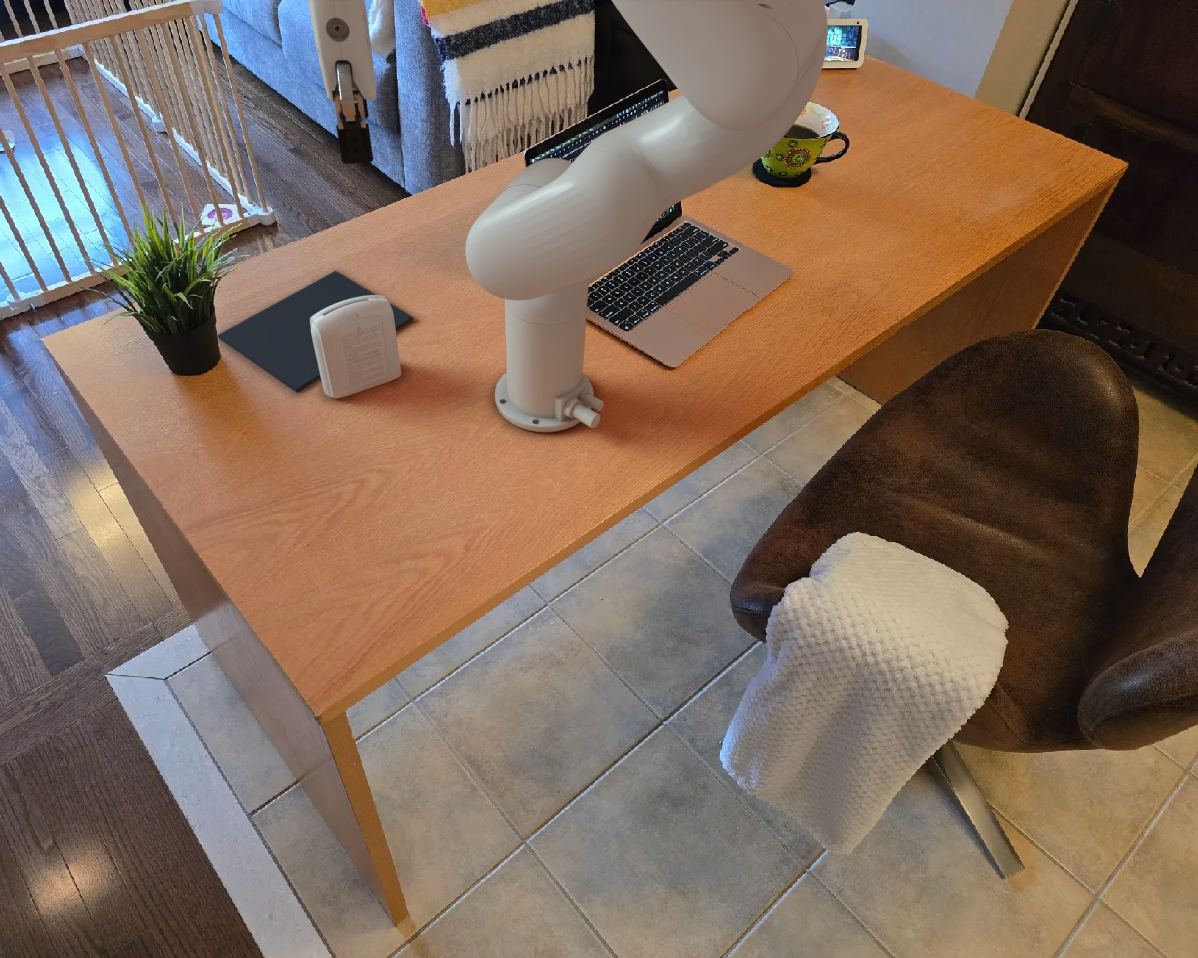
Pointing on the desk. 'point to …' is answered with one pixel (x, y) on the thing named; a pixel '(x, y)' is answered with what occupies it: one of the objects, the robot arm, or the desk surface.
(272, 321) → the desk mat
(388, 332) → the photo printer
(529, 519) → the desk surface
